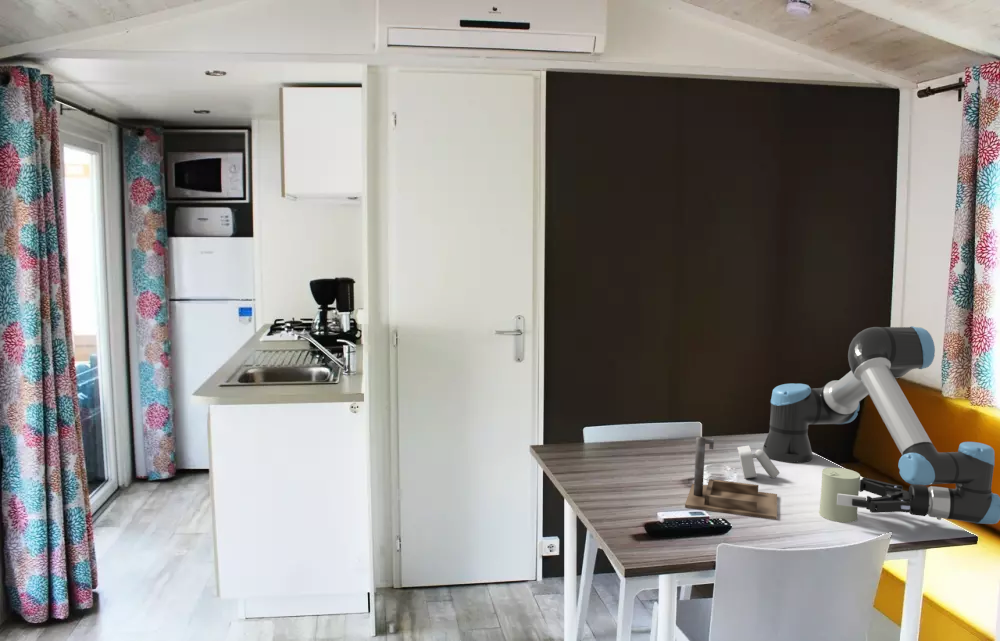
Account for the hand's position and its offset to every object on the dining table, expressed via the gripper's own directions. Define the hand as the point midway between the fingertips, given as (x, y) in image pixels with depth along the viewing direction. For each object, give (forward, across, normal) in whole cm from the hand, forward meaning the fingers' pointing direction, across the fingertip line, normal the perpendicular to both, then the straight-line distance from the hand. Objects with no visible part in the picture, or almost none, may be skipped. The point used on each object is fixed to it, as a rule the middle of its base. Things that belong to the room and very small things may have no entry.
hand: (835, 490), depth 200 cm
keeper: (+25, 0, -7) cm, 26 cm away
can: (-1, 0, -7) cm, 7 cm away
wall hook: (+19, +26, -7) cm, 33 cm away
